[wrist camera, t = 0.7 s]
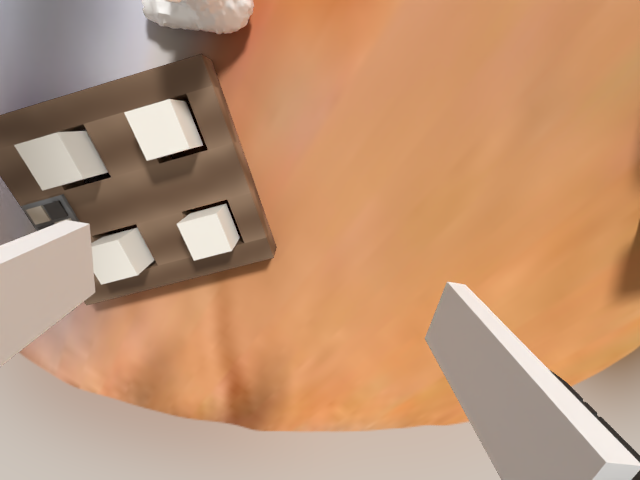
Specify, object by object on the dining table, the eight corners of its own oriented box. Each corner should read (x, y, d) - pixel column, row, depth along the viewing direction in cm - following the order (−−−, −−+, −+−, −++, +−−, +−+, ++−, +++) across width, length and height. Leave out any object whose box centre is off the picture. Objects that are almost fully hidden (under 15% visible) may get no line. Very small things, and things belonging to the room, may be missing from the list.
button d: (190, 213, 31) (176, 223, 28) (226, 203, 31) (216, 213, 28) (205, 246, 33) (193, 260, 30) (239, 237, 33) (232, 250, 29)
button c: (145, 113, 28) (123, 112, 24) (186, 101, 27) (169, 98, 24) (164, 156, 29) (146, 160, 26) (203, 145, 29) (189, 148, 26)
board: (-2, 124, 30) (-40, 125, 26) (211, 60, 28) (199, 52, 25) (103, 291, 37) (83, 307, 34) (276, 247, 36) (273, 259, 32)
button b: (102, 236, 32) (79, 249, 29) (137, 227, 32) (117, 239, 28) (121, 268, 33) (101, 284, 30) (154, 260, 33) (137, 275, 30)
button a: (47, 142, 28) (14, 145, 25) (86, 130, 28) (57, 132, 25) (71, 182, 30) (42, 190, 26) (108, 172, 29) (83, 178, 26)
